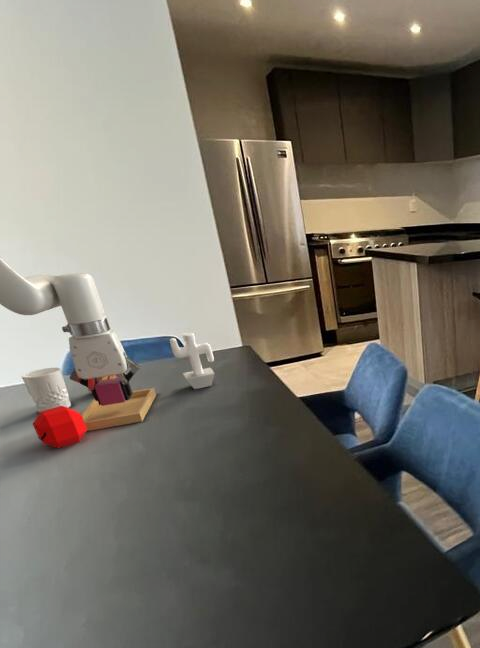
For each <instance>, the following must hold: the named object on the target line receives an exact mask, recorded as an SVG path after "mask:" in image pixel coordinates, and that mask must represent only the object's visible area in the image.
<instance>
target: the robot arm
mask: <svg viewBox="0 0 480 648" xmlns="http://www.w3.org/2000/svg"><path fill="white" fill-rule="evenodd" d="M0 305H1V306H3V307H4V308H5V309H7V310H9V311H11V312H12V313H14V314H17V315H21V316H34V315H38V314H40V313H43V312H46V311H49V310H52V309H54V308H55V309H56V308H58V307H59V308H60V307H61V309H62V312H63V314H64V317H65V320H66V323H67V324H66V325H65V326H62V327H61V330H62V332H63V333H69V334H70V337H68V345H69V347H70V349H69V351H70V355H71V359H72V363H73V365H74V366H73V370H72V371H71V373H70V375H69V379H70V381H73V382H76V383H79V384H80V385H82V386H84V387H86V388H87V387H88V388H89V389H90V390H92V393H93V394H92V393H91V394H92V395H93V398H94V399H95V400H96V401H98V403H99V405H101V403H100V401H99V398H98V395H97V392H96V390H95V386H96V385H97V378H99V377H106V376H113V375H115V377H116V378H119V380H120V381H121V384H122V385H121V388H122V391H123V394H124V397H125V400H129V399H130V398H131V395H132V391H133V390H132V387H131V385H130V381H131V379H132V378H133V376H135V374H137V373H138V371H139V370H140V369H141V365H139V364H138V363H136V362H135V361H134V360H132V359H130V358H129V357H128V356H127V354H126V351H125V348H124V347H123V345H122V342H121V339H120V338H119V337H118V335H117V333H116V332H115V330H113V329H112V330H111V327H110V324H109V321H108V317H107V315H106V312H105V310H104V306H103V303H102V300H101V297H100V295H99V290H98V289H97V285H96V283H95V280H94V277H93V276H92V275H91V274H89V273H86V272H75V273H67V274H61V275H51V274H50V275H49V274H39V275H38V274H36V275H32V276H26V277H23V276H22V275H20V273H18V272H17V271H15V270H14V269H13V268H12V267H10V266H9V265H8V264H7V262H5V261H4V260H3V259H2V258H1V257H0ZM129 368H130V369H129ZM128 369H129V371H128V373H126V371H127V370H128ZM88 388H87V389H88Z"/></svg>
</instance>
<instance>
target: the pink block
mask: <svg viewBox="0 0 480 648" xmlns="http://www.w3.org/2000/svg"><path fill="white" fill-rule="evenodd" d="M121 385H122V384H121V381H120V380H119V378H118V377H115V378H114V379H107V380H101V381H99V382H98V383H97V385H96V386H95V390H96V392H97V395H98V398H99V401H100V403H101V406H104V405H110V404H117V403H123V402H125V401H126V400H125V397H124V394H123V391H122V388H121Z"/></svg>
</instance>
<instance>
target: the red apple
mask: <svg viewBox="0 0 480 648" xmlns="http://www.w3.org/2000/svg"><path fill="white" fill-rule="evenodd" d="M81 414H82V413H80V412H79V411H78V410H75V409H72V408H70V407H69V408H67V407H65V406H59V407H56V408H52V409H48V410H44V411H41V412H39V413H38V415H37V416H36V418H35V420H34V421H33V422H32V426H33V427H34V431H35V433H36V435H37V437H38V439H39V440H40V441H41V443H42V444H44V445H47V446H50V447H53V448H57V449H60V448H64V447H67V446H70V445H73V444H77V443H80V442H81V440H82V439H83V437H84V435H85V434H86V432H88V431H87V428H86V425H85V422H84V420H83V417H82V415H81Z"/></svg>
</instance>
